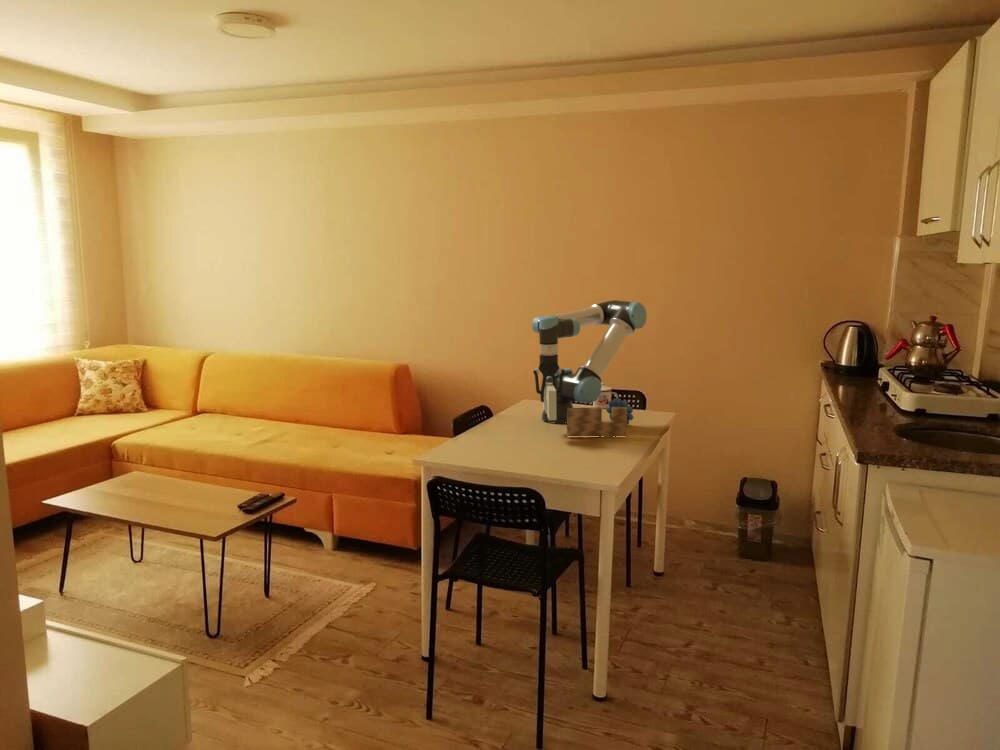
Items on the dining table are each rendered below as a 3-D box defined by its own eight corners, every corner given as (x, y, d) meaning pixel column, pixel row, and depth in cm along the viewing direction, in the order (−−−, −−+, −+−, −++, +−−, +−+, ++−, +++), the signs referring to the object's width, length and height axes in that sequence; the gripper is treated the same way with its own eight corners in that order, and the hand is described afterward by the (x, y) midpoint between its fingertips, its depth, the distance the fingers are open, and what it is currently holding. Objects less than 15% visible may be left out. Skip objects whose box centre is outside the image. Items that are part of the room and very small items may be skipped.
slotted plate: (545, 410, 305) (544, 382, 303) (552, 410, 305) (551, 382, 303) (548, 420, 290) (548, 390, 287) (556, 420, 290) (556, 390, 287)
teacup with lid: (591, 408, 349) (592, 384, 347) (593, 404, 357) (593, 381, 355) (616, 409, 346) (617, 385, 344) (618, 405, 355) (618, 381, 353)
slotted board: (567, 438, 296) (568, 409, 293) (566, 436, 299) (567, 407, 296) (626, 437, 296) (627, 408, 294) (624, 435, 299) (625, 407, 297)
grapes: (604, 426, 314) (605, 399, 312) (607, 422, 321) (608, 396, 319) (631, 428, 311) (632, 400, 308) (633, 424, 317) (634, 397, 315)
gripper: (529, 355, 295) (530, 412, 299) (569, 354, 295) (569, 411, 300) (528, 352, 302) (529, 407, 307) (567, 352, 303) (567, 406, 307)
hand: (549, 409), depth 303 cm, fingers closed on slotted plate, 3 cm apart
